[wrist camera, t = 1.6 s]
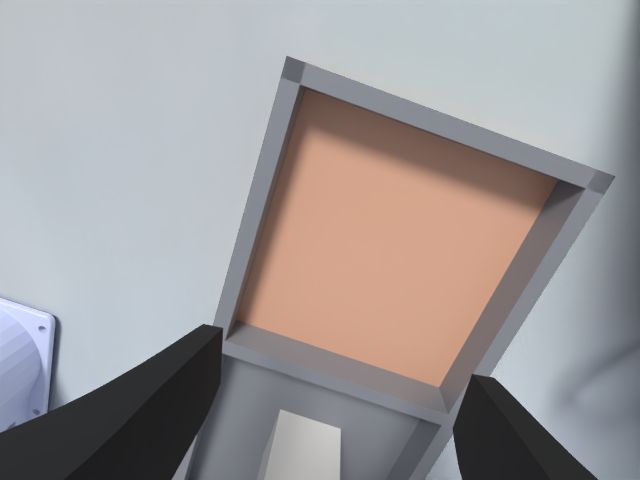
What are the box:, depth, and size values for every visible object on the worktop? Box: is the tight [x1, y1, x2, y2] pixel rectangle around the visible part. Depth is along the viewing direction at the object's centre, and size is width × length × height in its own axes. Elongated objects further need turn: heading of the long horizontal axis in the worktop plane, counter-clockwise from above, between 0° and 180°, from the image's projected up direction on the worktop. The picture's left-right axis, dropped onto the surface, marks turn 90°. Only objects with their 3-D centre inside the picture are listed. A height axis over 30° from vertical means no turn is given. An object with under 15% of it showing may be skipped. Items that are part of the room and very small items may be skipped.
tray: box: [172, 56, 615, 480], centre depth 20 cm, size 28×14×3 cm, turn 161°
